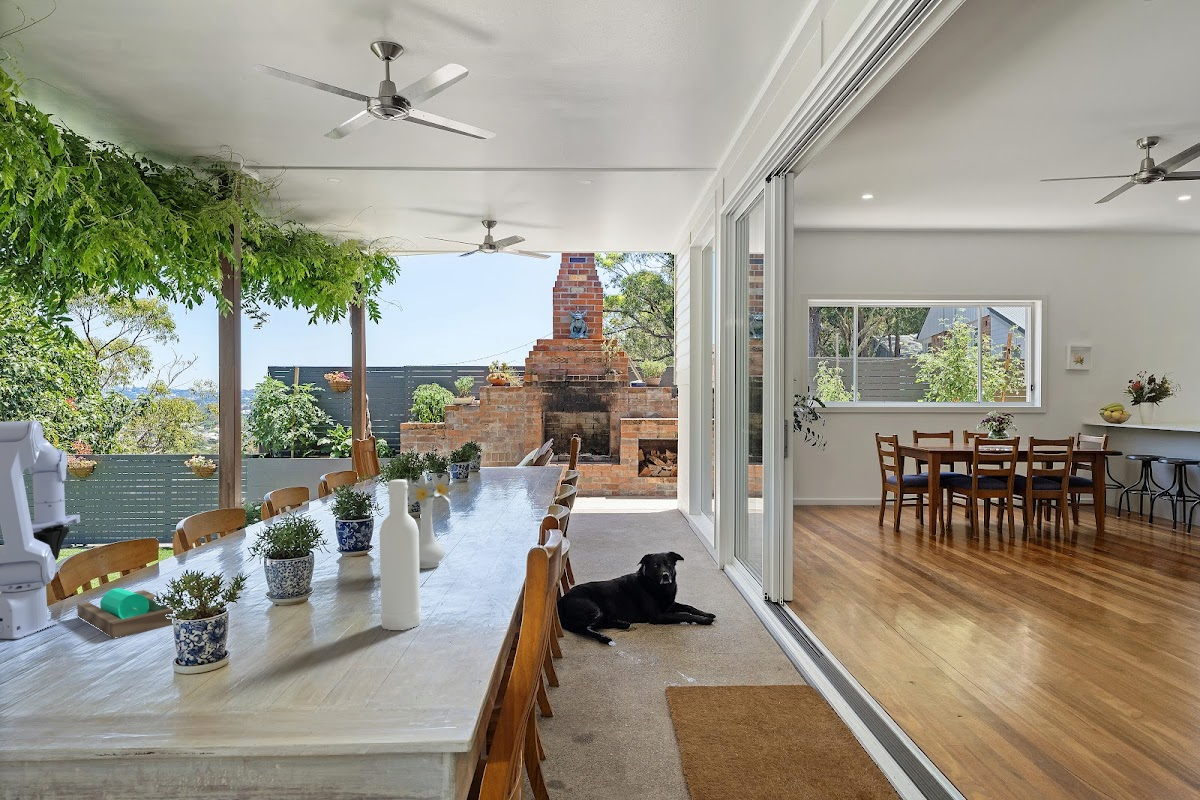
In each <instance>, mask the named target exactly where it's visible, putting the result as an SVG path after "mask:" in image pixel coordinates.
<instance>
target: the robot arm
mask: <svg viewBox="0 0 1200 800" xmlns="http://www.w3.org/2000/svg"><path fill="white" fill-rule="evenodd" d="M67 467H68V456H67V452H66V451H65V450H62V449H61V448H58V449H57V448H55V447H54V446H53V445H52V444H51V443H50V442H49V440H48V439H45V438H44V429H43V425H42V424H41V423H40V422H39V420H38V419H32V420H22V421H21V420H17V421H0V529H1V535H2V539H3V544H2V545H1V546H0V639H5V640H7V639H8V640H19V639H21V638H25V637H27V636H29V635H32V634H36V633H38V632H40V630H41V631H43V630H46V629H48V628H47V627H49V628H51V627H53V626H52V625H54V626H56V625H55V624H57V625H58V624H59V621H55V620H48V602H47V601H48V599H47V598H48V597H47V585H48V584H50V583H51V582H52V580H54V578H55V575H56V571H57V569H56V566H57V565H56V561H57V560H58V559H59V555H60V552H61V548H62V545H63V542H64V540H65V539H66V536H67V535H68V533H69V532H70V528H69V527H68V525H73V524H79V523H81V514H68V515H66V499H65V498H66V497H65V481H66V479H67ZM27 469H28V473H29V474H30V476H31V475H32V489H33V490H32V492H33V514H34V515H33V516H34V517H33V518H34V520H33V521H32V519H31V513H30V509H29V503H28V502H29V501H28V498H27V497H28V496H27V491H26V488H25V487H26V484H25V480H24V475H23V474H24V472H25V470H27ZM50 626H51V627H50ZM45 628H46V629H45ZM42 629H43V630H42ZM37 631H38V632H37ZM24 636H25V637H24Z"/></svg>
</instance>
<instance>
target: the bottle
mask: <svg viewBox="0 0 1200 800" xmlns="http://www.w3.org/2000/svg"><path fill="white" fill-rule="evenodd" d="M404 479H405V478H404ZM404 479H391V480H389V481H388V488H387V491H388V490H389V494H388V499H389V500H388V502H389V505H388V506H389V508H388V509H389V514H388V516H387V517H386V518H385V519H383V521H382V523H381V526H380V530H379V532H378V533H379V567H380V568H379V570H380V575H379V577H380V603H381V604H380V606H381V607H380V610H381V611H380V620H381V627H382V628H383V629H384V628H385V629H384V630H386V629H389V630H388V631H390V630H401V629H408V630H410V629H409V628H412V629H414V628H413V627H415V628H417V627H418V626H420V625H421V622H422V619H421V616H422V608H421V581H420V580H421V579H420V577H421V575H420V568H419V536H420V531H419V529H420V528H419V527H418V524H417V522H416V519H415V518H413V517H412V516H411V515H410V514H409V509H408V505H409V504H408V500H409V499H408V496H407V489H408V485H407V481H406V480H404ZM416 626H417V627H416Z"/></svg>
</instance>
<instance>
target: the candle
mask: <svg viewBox="0 0 1200 800" xmlns="http://www.w3.org/2000/svg"><path fill="white" fill-rule="evenodd" d="M134 592H135V591H134ZM134 592H133V591H131V590H129V589H124V588H120V587H116V588H113V589H110V590H108V591H107V592H105V593H104V594H103V596H102V598H101V600H100V608H101V609H102V610H104V611H106V612H108V613H110V614H112V615H114V616H115V617H117V618H119V619H125V618H130V617H134V616H138V615H143V614H146V613H147V611H148V610H149V602H148V600H147V599H146V597H145V596H143V595H140V594H137V593H134Z"/></svg>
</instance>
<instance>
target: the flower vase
mask: <svg viewBox="0 0 1200 800" xmlns="http://www.w3.org/2000/svg"><path fill="white" fill-rule="evenodd" d="M431 478H432V479H431V480H425V476H424V474H422V475H420V477H419V479H418V482H413V483H412V477H410V478H409V480H408V478H407V477H404V480H406V481H407V485H408V489H407V500H408V505H414V504H415V503H417V502H418V503H419V508H420V509H419V510H420V531H419V569H420V570H421V569H423V570H425V569H426V570H428V569H433V568H437V567H440V566H439V565H440V562H441V561H442V560H443V559H444V557H445V556H446V555H445V554H446V550H445V548H444V547H443V545H442V544H441V543H440V542H439V541H438V540H437V538H436V535H435V533H434V526H433V504H434V500H435V497H437V498H438V497H440V496H441V497H442V498H444V499H445V500H446V501H447V502H450V501H451V500H452V497H451V493H452V494H453V492H456V491H457V489H458V488H457V486H456V485H453V484H448V483H449V476H448V474H444V475H442V476H441V478H440V479H439V477H438V476H437V475H436V474H435V473H432V474H431ZM387 494H388V495H389V490H388V489H387Z"/></svg>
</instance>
